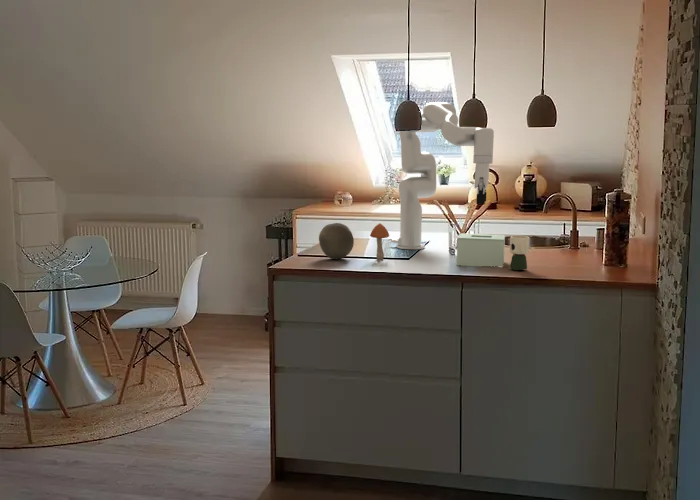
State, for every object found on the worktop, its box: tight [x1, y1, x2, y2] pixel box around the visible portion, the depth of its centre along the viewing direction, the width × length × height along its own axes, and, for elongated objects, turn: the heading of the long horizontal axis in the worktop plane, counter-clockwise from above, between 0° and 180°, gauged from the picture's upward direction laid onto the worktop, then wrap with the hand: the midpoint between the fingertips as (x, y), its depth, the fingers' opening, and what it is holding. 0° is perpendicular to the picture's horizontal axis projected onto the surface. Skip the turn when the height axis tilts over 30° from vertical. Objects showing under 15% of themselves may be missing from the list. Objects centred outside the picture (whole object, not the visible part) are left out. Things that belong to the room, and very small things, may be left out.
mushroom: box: [369, 223, 390, 261], centre depth 328 cm, size 8×8×15 cm
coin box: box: [456, 232, 506, 268], centre depth 321 cm, size 18×13×11 cm
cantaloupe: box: [318, 222, 355, 260], centre depth 327 cm, size 14×14×15 cm
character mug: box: [509, 235, 530, 271], centre depth 307 cm, size 11×7×13 cm, turn 178°
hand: (481, 202), depth 319 cm, fingers open, 9 cm apart
